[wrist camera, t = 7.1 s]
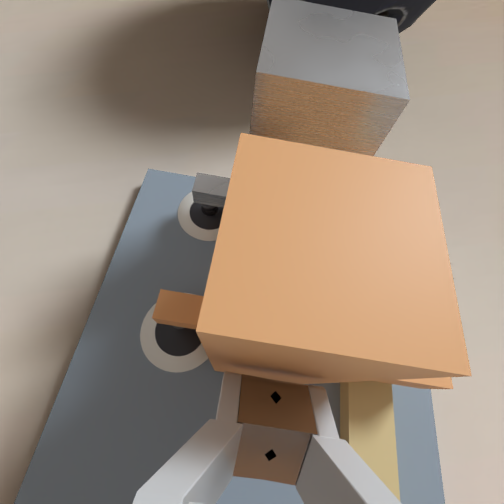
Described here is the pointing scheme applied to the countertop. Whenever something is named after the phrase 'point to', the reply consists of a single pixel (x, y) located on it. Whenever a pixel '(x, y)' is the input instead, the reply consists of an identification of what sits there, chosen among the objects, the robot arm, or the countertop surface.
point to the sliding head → (327, 272)
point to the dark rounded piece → (382, 8)
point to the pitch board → (190, 381)
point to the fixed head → (322, 84)
